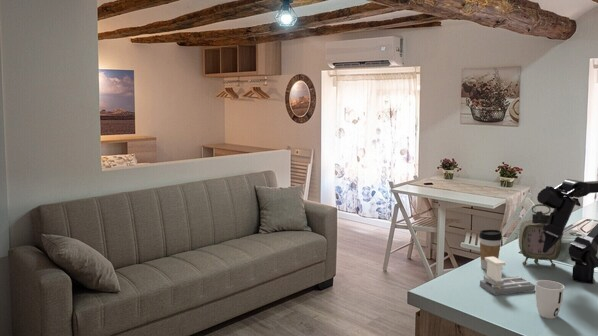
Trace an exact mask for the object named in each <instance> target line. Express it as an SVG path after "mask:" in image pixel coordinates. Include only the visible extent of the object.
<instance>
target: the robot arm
mask: <svg viewBox="0 0 598 336" xmlns="http://www.w3.org/2000/svg"><path fill="white" fill-rule="evenodd" d="M597 193H598V180H593V181H591V180H589V181H582V180H577V179H570V178H565V179H564V180H563V181H562V183H561V184H559V185H557V186H556V187H553V186H550V185H546V186H545V188H542V189H541V190H540V191H539V192H538V194H537V197H536V199H537V202H538V203H539V204H543V205H546V206H548V207H550V209H553V210H552V212H551V211H550V214H545V215H543V214H542V213H543V211H542V212H540V211H536V212H537V213H536V214H535V213H532V214H531V215H532V216H531V220H532V223H534V224H537V223H542V224H545V225H544V227H543V230H544V231H545V232H544V231H543V233H544V235H545V242H544V246H543V251H542V252H544V253H546V252H547V251H548V250H549V249H550V248H552V247H553V246H554V245H555V244H556V243H557V242H558V241H559V240H560V238H561V239H563V236H564V231H565V228H566V226H567V224H568V222H569V221H570V217H571V215H572V213H573V211H574V209H575V206H577V207H581V203H580V201H579V200H580V199H579V198H582V197H586V196H588V195H589V194H597ZM546 206H545V207H546ZM548 207H547V208H548ZM568 254H569V256H570V261H572V262H574V264H573V266H572V275H571V277H572V279H573V281H574V282H582V283H585V284H586V283H588V284H594V280H595V277H594V276H595V269H596V268H598V257H597V254H598V223H596V225H594V227H593V228H592V229H591V230H590V231H589V232H588V234H587V235H585V236H583V237H581V236H576V237H575V238H574V240H573V241H572V242H570V245H569V247H568Z"/></svg>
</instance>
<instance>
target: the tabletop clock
mask: <svg viewBox="0 0 598 336" xmlns="http://www.w3.org/2000/svg"><path fill="white" fill-rule="evenodd" d="M537 207H546V208H547V209H549V210H548V211H547V212H543V211H542V210H540V211H539V212H542V214H543V215H549V213H551V211H552V210H551V209H552V208H550V207H548V206H546V205H543V204H541V203H539V204H535V205H533V206H532V207H531V212H532V214H536V213H537V211H534V209H535V208H537ZM544 225H545V224H542V223H537V224H534V223H532V219H526V220H524V221H521V223H520V227H519V231H518V248H519V250H520V252H521V254H522V255H523V257H525V259H524V261H522V265H523V266H524V267H525V266H527V265H528V264H527V261H528V259H531V260H533V262H534V263H535V264H538V263H539V261H549V262H550V263H551V264H550V266H551V268H555V267H556V264H555V263H554V262H553V260H557V259H558V258H559V256H560V253H561V250H562V249H561V248H562V238H560V240H559V241H558V242H557V243H556V244H555V245H554V246H553V247H552V248H550V249H549V250H548V251H547V252H546V253H544V252H542V251H543V246H544V242H545V235H544V233H543V231H544V230H543V227H544ZM544 232H545V231H544Z"/></svg>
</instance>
